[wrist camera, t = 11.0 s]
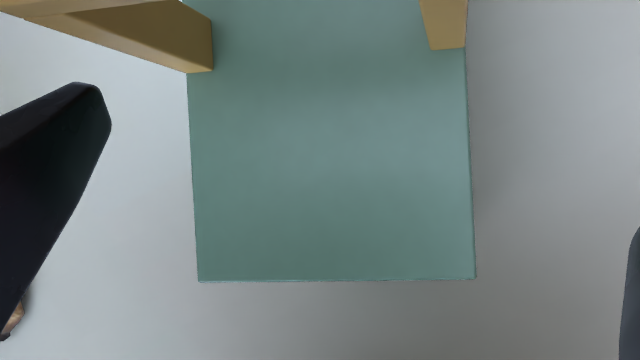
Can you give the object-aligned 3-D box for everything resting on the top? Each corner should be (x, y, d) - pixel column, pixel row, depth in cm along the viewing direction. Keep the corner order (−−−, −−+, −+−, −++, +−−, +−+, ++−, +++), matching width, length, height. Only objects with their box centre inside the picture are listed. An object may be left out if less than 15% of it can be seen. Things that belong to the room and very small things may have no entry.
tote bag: (468, 223, 20) (494, 384, 6) (315, 228, 21) (4, 372, 7) (454, -49, 20) (444, -620, 5) (301, -29, 21) (-47, -458, 7)
